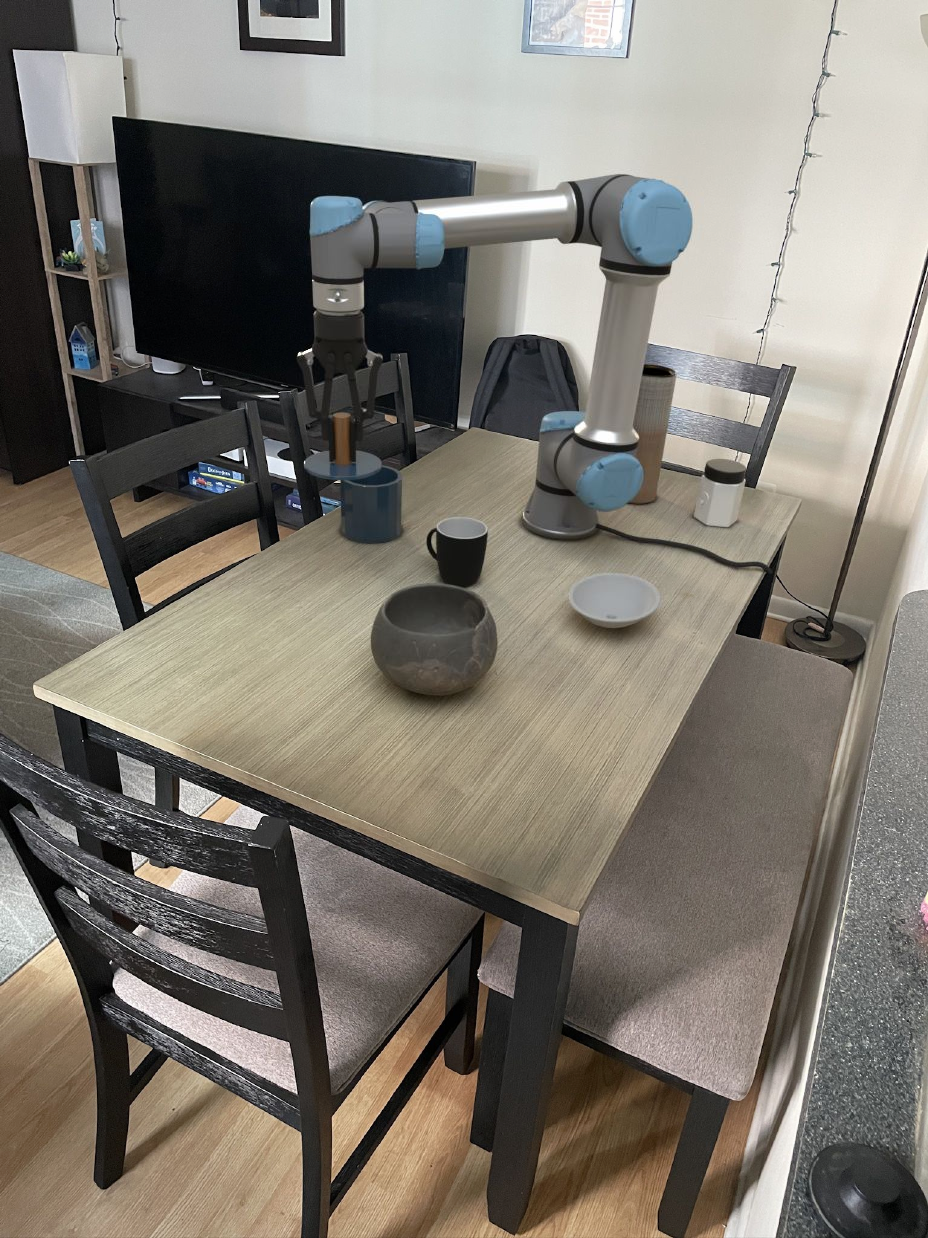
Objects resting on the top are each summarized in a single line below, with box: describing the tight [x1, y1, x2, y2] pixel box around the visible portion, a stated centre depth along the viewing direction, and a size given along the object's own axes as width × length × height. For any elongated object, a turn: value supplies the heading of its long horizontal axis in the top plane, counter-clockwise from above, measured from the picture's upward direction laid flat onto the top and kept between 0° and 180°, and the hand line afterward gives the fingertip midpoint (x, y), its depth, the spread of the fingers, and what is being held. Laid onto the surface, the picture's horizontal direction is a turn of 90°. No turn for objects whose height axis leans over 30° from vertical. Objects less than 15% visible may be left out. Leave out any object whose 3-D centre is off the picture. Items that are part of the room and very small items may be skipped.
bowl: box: [370, 582, 499, 696], centre depth 127 cm, size 18×18×13 cm
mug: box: [425, 516, 489, 588], centre depth 157 cm, size 12×9×10 cm
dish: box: [567, 572, 661, 629], centre depth 147 cm, size 18×14×5 cm
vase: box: [627, 363, 678, 505], centre depth 190 cm, size 10×10×28 cm
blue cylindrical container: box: [339, 464, 403, 544], centre depth 172 cm, size 12×12×12 cm
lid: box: [303, 411, 383, 481], centre depth 144 cm, size 13×13×9 cm
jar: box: [693, 458, 747, 528], centre depth 185 cm, size 9×8×12 cm
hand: (342, 458), depth 146 cm, fingers closed on lid, 3 cm apart
